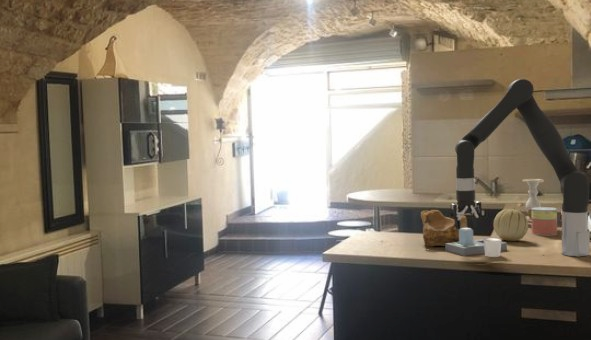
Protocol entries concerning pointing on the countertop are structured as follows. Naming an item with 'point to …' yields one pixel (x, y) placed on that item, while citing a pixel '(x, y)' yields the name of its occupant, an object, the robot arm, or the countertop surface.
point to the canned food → (544, 221)
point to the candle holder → (532, 198)
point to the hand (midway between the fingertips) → (466, 228)
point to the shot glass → (492, 247)
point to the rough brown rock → (440, 228)
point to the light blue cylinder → (466, 236)
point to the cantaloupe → (510, 224)
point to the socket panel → (470, 247)
